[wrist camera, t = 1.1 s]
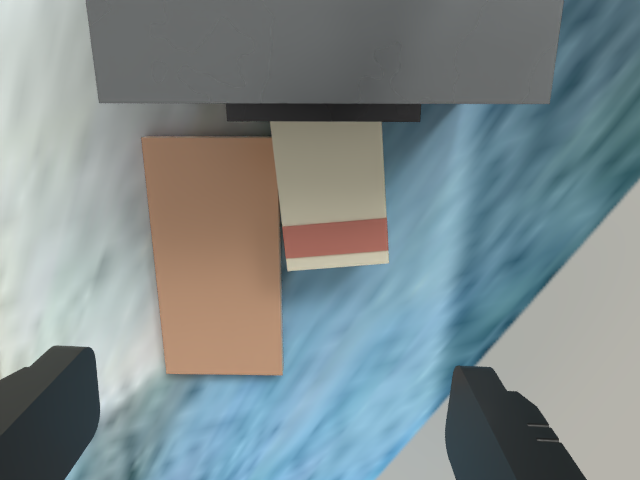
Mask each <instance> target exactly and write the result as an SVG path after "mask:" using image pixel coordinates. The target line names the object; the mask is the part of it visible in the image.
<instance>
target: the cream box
mask: <svg viewBox="0 0 640 480" xmlns="http://www.w3.org/2000/svg"><path fill="white" fill-rule="evenodd" d="M270 126H271V135H272V143H273V152H274V160H275V169H276V177H277V186H278V194H279V202H280V211H281V219H282V230H283V238H284V247H285V255H286V261H287V270H288V271H297V270H310V269H322V268H335V267H347V266H360V265H373V264H385V263H389V254H388V231H387V216H386V197H385V177H384V158H383V139H382V122H300V121H270Z"/></svg>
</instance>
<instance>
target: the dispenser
mask: <svg viewBox="0 0 640 480" xmlns="http://www.w3.org/2000/svg"><path fill="white" fill-rule="evenodd" d="M563 3H564V0H86V6H87V14H88V21H89V29H90V37H91V44H92V52H93V60H94V67H95V75H96V83H97V90H98V98H99V103H226V109H227V121H300V122H420V115H421V104H550V97H551V90H552V82H553V75H554V68H555V61H556V53H557V46H558V39H559V32H560V24H561V17H562V10H563Z"/></svg>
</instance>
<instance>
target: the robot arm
mask: <svg viewBox="0 0 640 480" xmlns="http://www.w3.org/2000/svg"><path fill="white" fill-rule="evenodd" d="M99 417H100V402H99V391H98V380H97V370H96V359H95V354H94V351H93V350H92V348H90V347H75V346H53V347H51V348H50V349H49V350H48V351H46V352H45V353H44V354H43V355H42V356H41V357H40V358H39V359H38V360H37V361H36V362H34V363H33V364H32V365H31V366H30V367H24V368H22V369H20V370H19V371H17V372H15V373H13V374H11V375H9V376H7V377H5V378H3V379H1V380H0V480H65V478H66V477H67V475H68V474H69V472H70V471H71V469H72V468H73V466H74V465H75V463H76V462H77V460H78V459H79V458H80V456H81V455H82V453H83V452H84V450H85V449H86V447H87V446H88V444H89V443H90V441H91V440H92V438H93V437H94V435H95V432H96V430H97V427H98V423H99ZM445 441H446V449H447V454H448V457H449V460H450V463H451V466H452V469H453V472H454V475H455V478H456V480H587V479H586V478H585V477H584V475H583V474H582V472H581V471H580V469H579V468H578V466H577V465H576V463H575V462H574V460H573V459H572V457H571V456H570V454H569V453H568V452H567V450H566V449H565V447H564V446H563V444H562V443H559V438H558V437H557V436H556V434H555V433H554V431H553V430H552V428H549V424H548V422H547V421H546V419H545V418H544V416H543V415H542V414H541V412H540V411H539V409H538V408H537V406H535V405H534V404H533V403H531V402H530V401H529V400H527V399H526V398H525V397H523V396H522V395H521V394H520V393H518V392H516V391H515V392H514V391H507V390H506V389H505V387H504V386H503V384H502V382H501V381H500V379H499V377H498V376H497V374H496V373H495V371H494V370H493V369H492V368H491V367H476V366H456V367H455V369H454V372H453V377H452V384H451V391H450V398H449V405H448V412H447V419H446V428H445Z"/></svg>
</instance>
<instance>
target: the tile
mask: <svg viewBox="0 0 640 480" xmlns="http://www.w3.org/2000/svg"><path fill="white" fill-rule="evenodd" d="M141 141H142V150H143V160H144V169H145V178H146V188H147V197H148V206H149V216H150V225H151V234H152V243H153V253H154V262H155V271H156V281H157V290H158V299H159V309H160V318H161V327H162V336H163V346H164V355H165V364H166V374H223V375H283V369H284V360H283V319H282V278H281V236H280V202H279V194H278V186H277V177H276V169H275V160H274V152H273V143H272V136H145V137H141Z"/></svg>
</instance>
